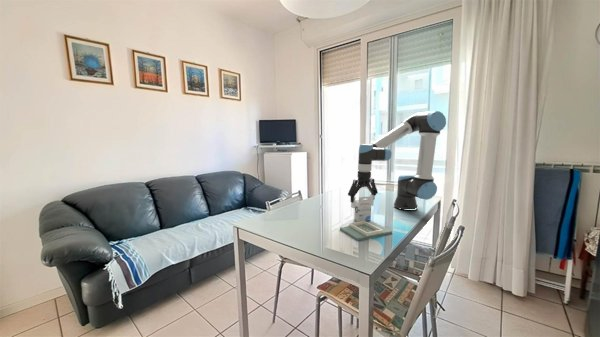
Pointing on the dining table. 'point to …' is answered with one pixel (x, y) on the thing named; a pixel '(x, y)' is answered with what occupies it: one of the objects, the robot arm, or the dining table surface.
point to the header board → (365, 230)
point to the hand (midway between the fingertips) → (362, 206)
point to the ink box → (362, 209)
